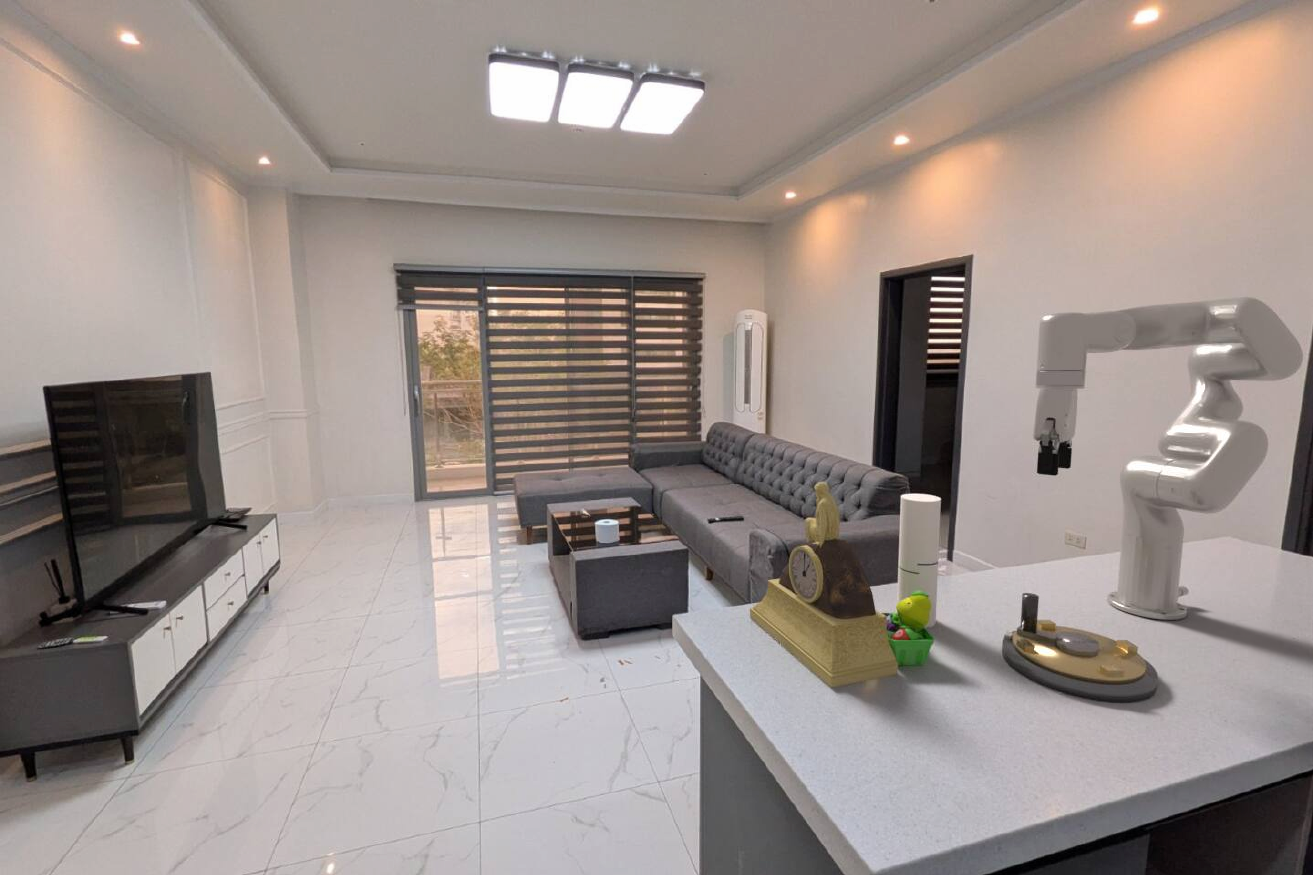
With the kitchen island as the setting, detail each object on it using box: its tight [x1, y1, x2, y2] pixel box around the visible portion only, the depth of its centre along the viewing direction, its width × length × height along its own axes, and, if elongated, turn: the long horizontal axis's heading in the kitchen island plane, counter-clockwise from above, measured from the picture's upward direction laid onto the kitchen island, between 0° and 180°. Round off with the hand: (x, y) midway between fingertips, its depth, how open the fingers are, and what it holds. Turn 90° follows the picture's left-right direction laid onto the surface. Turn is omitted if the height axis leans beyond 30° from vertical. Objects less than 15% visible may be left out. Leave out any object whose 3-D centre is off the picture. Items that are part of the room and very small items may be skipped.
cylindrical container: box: [896, 493, 942, 629], centre depth 116 cm, size 7×7×25 cm
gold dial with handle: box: [1013, 592, 1146, 684], centre depth 97 cm, size 18×18×8 cm
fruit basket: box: [881, 591, 935, 666], centre depth 103 cm, size 11×9×11 cm
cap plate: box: [1001, 630, 1159, 704], centre depth 98 cm, size 21×21×3 cm
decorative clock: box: [749, 481, 899, 689], centre depth 106 cm, size 28×13×30 cm, turn 18°
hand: (1054, 471), depth 111 cm, fingers open, 9 cm apart
